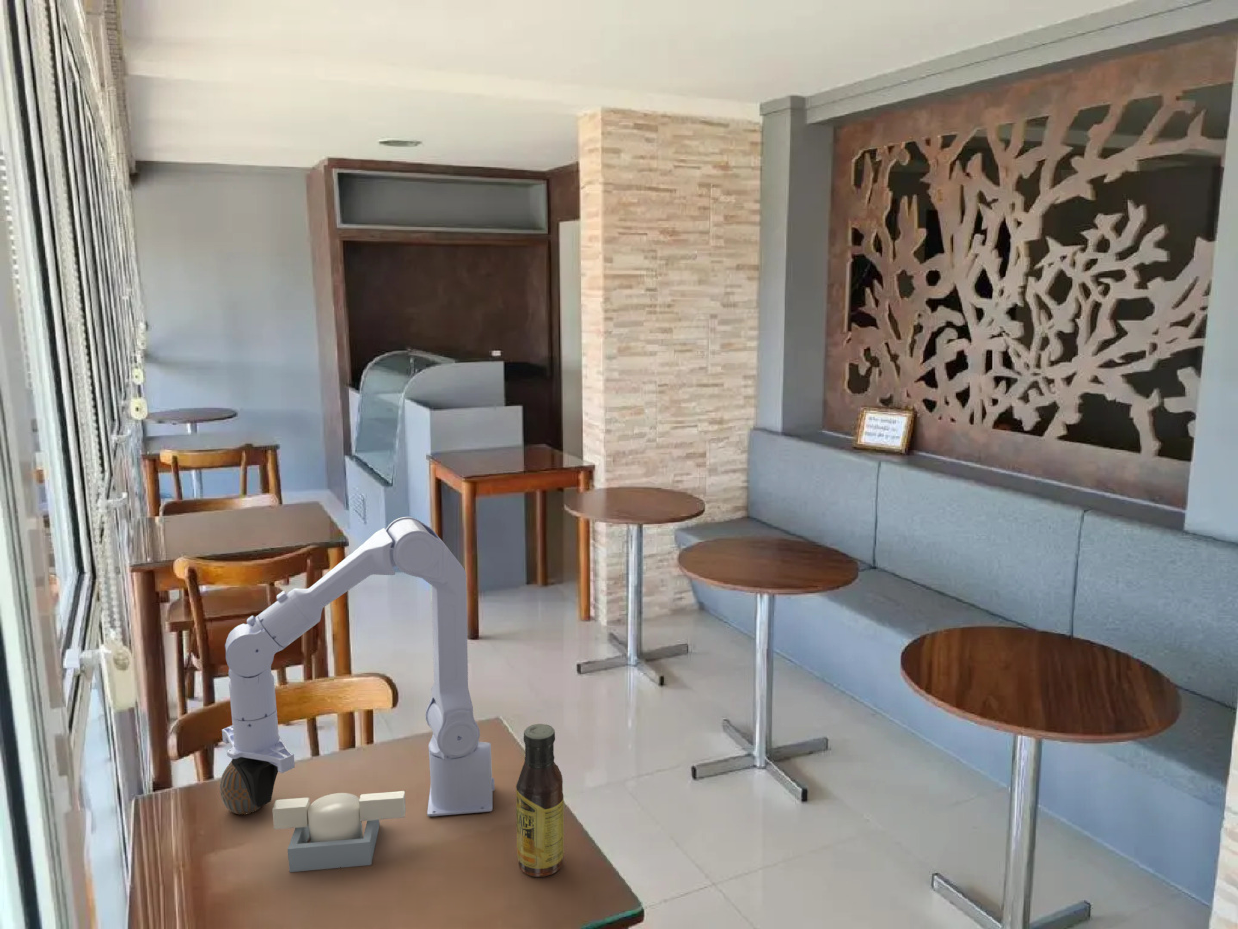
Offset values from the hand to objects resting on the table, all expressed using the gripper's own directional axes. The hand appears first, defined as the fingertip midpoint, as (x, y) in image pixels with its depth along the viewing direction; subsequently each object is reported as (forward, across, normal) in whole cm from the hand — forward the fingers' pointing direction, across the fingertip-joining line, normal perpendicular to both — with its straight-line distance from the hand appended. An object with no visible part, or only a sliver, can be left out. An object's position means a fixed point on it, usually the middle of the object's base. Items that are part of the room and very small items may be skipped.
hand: (262, 803), depth 128 cm
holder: (+6, +9, +6) cm, 12 cm away
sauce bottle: (+6, +35, +19) cm, 40 cm away
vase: (+6, -10, +4) cm, 13 cm away
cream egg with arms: (+6, +9, +6) cm, 12 cm away
